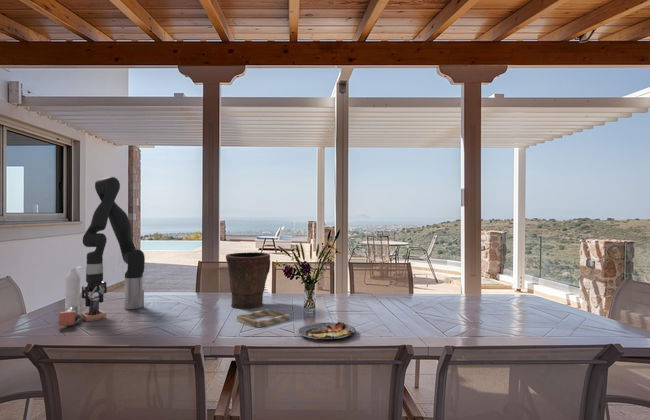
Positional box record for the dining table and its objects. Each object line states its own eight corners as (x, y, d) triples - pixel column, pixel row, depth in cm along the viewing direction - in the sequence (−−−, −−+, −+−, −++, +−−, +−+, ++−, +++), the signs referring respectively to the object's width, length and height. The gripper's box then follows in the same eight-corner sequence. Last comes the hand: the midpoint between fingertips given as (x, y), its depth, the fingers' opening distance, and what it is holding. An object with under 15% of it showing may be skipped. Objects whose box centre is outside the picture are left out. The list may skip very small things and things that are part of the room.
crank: (65, 319, 190) (65, 307, 190) (79, 318, 192) (80, 306, 192) (59, 326, 179) (59, 313, 179) (74, 324, 181) (74, 311, 181)
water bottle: (73, 317, 199) (73, 268, 199) (61, 317, 200) (62, 268, 200) (85, 313, 207) (86, 266, 208) (74, 312, 208) (75, 266, 209)
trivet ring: (268, 313, 208) (268, 308, 208) (290, 319, 196) (290, 314, 196) (235, 320, 193) (235, 315, 193) (257, 327, 180) (257, 322, 180)
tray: (100, 315, 204) (100, 310, 204) (106, 318, 197) (106, 313, 197) (80, 318, 197) (80, 313, 197) (86, 321, 191) (86, 316, 191)
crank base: (79, 319, 195) (79, 317, 195) (84, 322, 189) (84, 320, 189) (58, 322, 189) (58, 320, 189) (63, 326, 183) (63, 324, 183)
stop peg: (97, 315, 201) (97, 295, 201) (100, 316, 198) (100, 296, 198) (87, 316, 197) (87, 296, 198) (90, 318, 194) (90, 298, 194)
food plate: (352, 325, 183) (352, 318, 183) (359, 342, 160) (358, 333, 160) (299, 328, 182) (299, 320, 182) (298, 345, 159) (298, 336, 159)
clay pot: (282, 302, 234) (282, 252, 234) (248, 312, 209) (248, 256, 210) (251, 297, 247) (251, 250, 248) (216, 306, 223) (216, 254, 223)
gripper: (98, 270, 205) (98, 301, 205) (77, 274, 191) (76, 307, 191) (111, 270, 204) (111, 301, 204) (90, 274, 190) (90, 307, 190)
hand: (94, 304), depth 197 cm, fingers open, 8 cm apart
